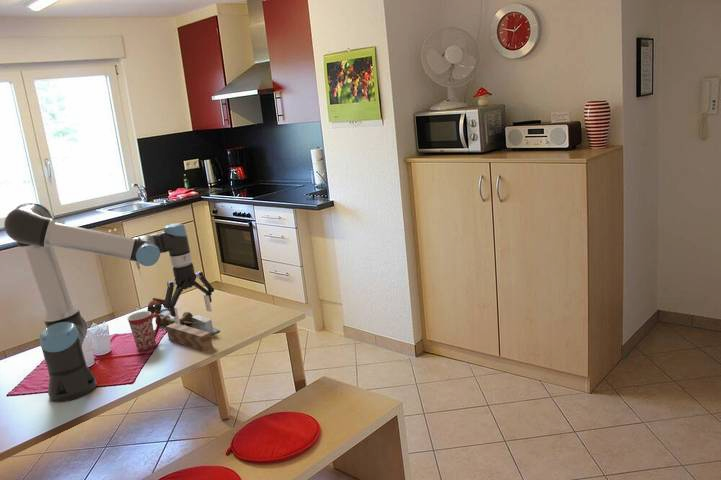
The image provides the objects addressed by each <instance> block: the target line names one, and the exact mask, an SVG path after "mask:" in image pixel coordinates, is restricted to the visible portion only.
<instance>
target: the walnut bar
mask: <svg viewBox="0 0 721 480" xmlns="http://www.w3.org/2000/svg"><path fill="white" fill-rule="evenodd" d="M165 328H166V333H167V337H168V340H170V341H172V342H176V343H178V344H183V345H184V346H188V347H192V348H195V349H198V350H202V351H206V350H208V349H210V348H212V347H213V340H212V335H210V332H206V331H202V330H199V329H195V328H193V327H191V326H188V325H181V324H176V323H173V324H170V325H168V326H165Z"/></svg>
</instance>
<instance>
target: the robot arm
mask: <svg viewBox="0 0 721 480" xmlns="http://www.w3.org/2000/svg"><path fill="white" fill-rule="evenodd" d="M3 224H4V226H3V227H4V231H5V232H6V234H7V235H8V237H9V238H11V239H12V240H13V241H16V243H17V246H18V247H19V248H20V249H22V250H24V251H25V254H26V256H27V259H28V262H29V264H30V268H31V271H32V274H33V276H34V277H33V278H34V279H35V282H36V285H37V288H38V291H39V295H40V297H41V301H42V304H43V306H44V310H45V312H46V315H45V316H44V318H43V321H44V324H45V327H46V328H44V329H43V330H42V331H41V332H40V334H39V345H40V347H41V350H42V354H43V358H44V361H45V364H46V368H47V372H48V375H49V379H48V388H47V394H48V397H49V398H48V399H49V400H50V401H52V402H55V403H61V402H67V401H72V400H75V399H78V398H79V399H80V398H82V397H83V396H85V395H87V394H89V393H91V392H92V391H94V389H95V388H96V387H97V385H98V383H97V380H96V377H95V376H94V374H93V372H92V371H91V370H90V368H89V367H88V365H87V362H86V359H85V356H84V355H85V354H84V351H83V343H84V341H85V338H86V336H87V333H88V325H87V322H86V320H85V318H84V317H83V316H82V315H81V313H80V309H79V308H78V307H77V306H75V305H73V302H72V299H71V296H70V293H69V290H68V287H67V284H66V281H65V278H64V275H63V272H62V270H61V266H60V263H59V260H58V256H57V254H56V250H55V248H54V247H59V248H64V249H69V250H75V251H79V252H86V253H90V254H96V255H100V256H101V255H102V256H107V257H111V258H118V259H123V260H127V261H128V260H129V261H131V262H136V263H139V264H140V265H142V266H145V267H151V266H154V265H155V264H156V263H157V262H159V259H160V257H161V254H164V253H169V259H170V264H171V266H172V272H173V276H174V280H172V281H166V283H167V284H166V285H167V289H166V294H165V297H164V300H165V302H164V305H163V307H164V308H165V309H167V310H168V309H169V313H170V316H171V317H173V319H174V321H175V323H176V324H180V321H179V319H180V316H179V313H178V309H177V307H176V304H177V303H178V300H179V298H180V296H181V294H182V293H183V291H184V290H187V289H189V288H193V286H194V287H195V288H196V289H197V290H199V291H201V292H202V293H204V294H203V299H204V304H205V308H206V309H205V310H206V312H209V313H212V311H213V310H212V305H211V303H212V301H213V300H212V294H213V293H214V292H215V289H214V287H213V286H212V284H211V283H210V282H209V281H208V279H206V277H205V274H204V272H203V271H200V270H198V271H197V272H196V273H195V268H194V263H193V258H192V254H191V249H190V245H189V244H190V243H189V239H188V234H187V231H186V230H187V229H186V227H185V225H184V224H183V223H182V222H177V223H176V222H175V223H171V224H167V225H165V226H164V227H163V231H162V232H156V233H152V234H151V233H150V234H146V235H145V234H144V235H139V236H137V237H133V238H132V237H128V236H123V235H118V234H114V233H108V232H104V231H99V230H94V229H89V228H84V227H79V226H75V225H70V224H64V223H61V222H56V221H55V220H54V219H53V217H52V213H51V212H50V210H49V209H48V208H47V207H46V206H45V205H43V204H40V203H37V202H25V203H22V204H19V206H17V207H16V208H14V209H13V210H11V211H9V213H8V214H7V216H6V217H5V219H4V223H3ZM196 279H199V280H200V282H202V285H201V284H200V283H198V282H197V281H196ZM175 285H176V287H175ZM203 285H204V286H205V287H204V286H203ZM174 287H175V291H174Z"/></svg>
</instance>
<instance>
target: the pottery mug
mask: <svg viewBox="0 0 721 480" xmlns="http://www.w3.org/2000/svg"><path fill="white" fill-rule="evenodd" d="M164 302H165V299H162V298H157V297H152V300H150V301H149V302H148V305H147V310H146V311H149V312H151V315H152V314H154V313H156V314H158V315H160V314H161V311H162V307H163V306H164ZM167 311H170V309H167Z"/></svg>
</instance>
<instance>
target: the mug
mask: <svg viewBox="0 0 721 480" xmlns="http://www.w3.org/2000/svg"><path fill="white" fill-rule="evenodd" d="M159 315H160V314H156V313H154V314H152V315H151V312H149V311H147V310H146V311H145V310H143V311H138V312H136V313H132V314H130V315H129V316H128V317H127V318H126V319H127V321H128V323H129V326H130V331H131V333H132V336H133V337H132V338H133V339H134V343H135V345H136V347H135V348H136V349H137V351H141V350H142V351H147V350H151V349H152V348H154V347H155V346H156V345H157V341H156V338H157V335H158V333H159V330H160V327H161V326H160V324H161V318H160V316H159ZM154 317H157V319H158V322H157V325H156V327H155V329H154V327H153V326H154V325H153V320H154Z"/></svg>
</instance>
